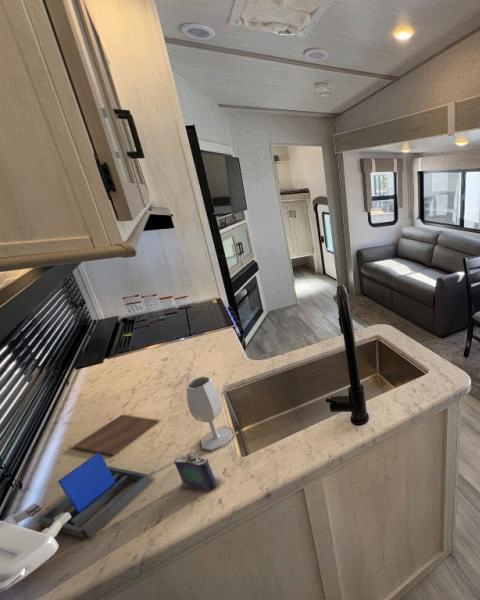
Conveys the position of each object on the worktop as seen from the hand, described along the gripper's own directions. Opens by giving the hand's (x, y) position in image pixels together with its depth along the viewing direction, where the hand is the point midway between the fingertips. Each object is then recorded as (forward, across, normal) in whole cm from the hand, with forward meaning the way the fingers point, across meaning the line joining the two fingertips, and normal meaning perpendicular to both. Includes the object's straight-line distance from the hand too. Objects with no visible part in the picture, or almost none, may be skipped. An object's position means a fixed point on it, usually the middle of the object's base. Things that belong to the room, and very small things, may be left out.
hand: (53, 509), depth 68 cm
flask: (+16, -22, +7) cm, 28 cm away
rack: (+7, 0, +7) cm, 10 cm away
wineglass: (+30, -14, +7) cm, 34 cm away
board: (+26, +21, +7) cm, 34 cm away
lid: (+7, 0, +7) cm, 10 cm away
